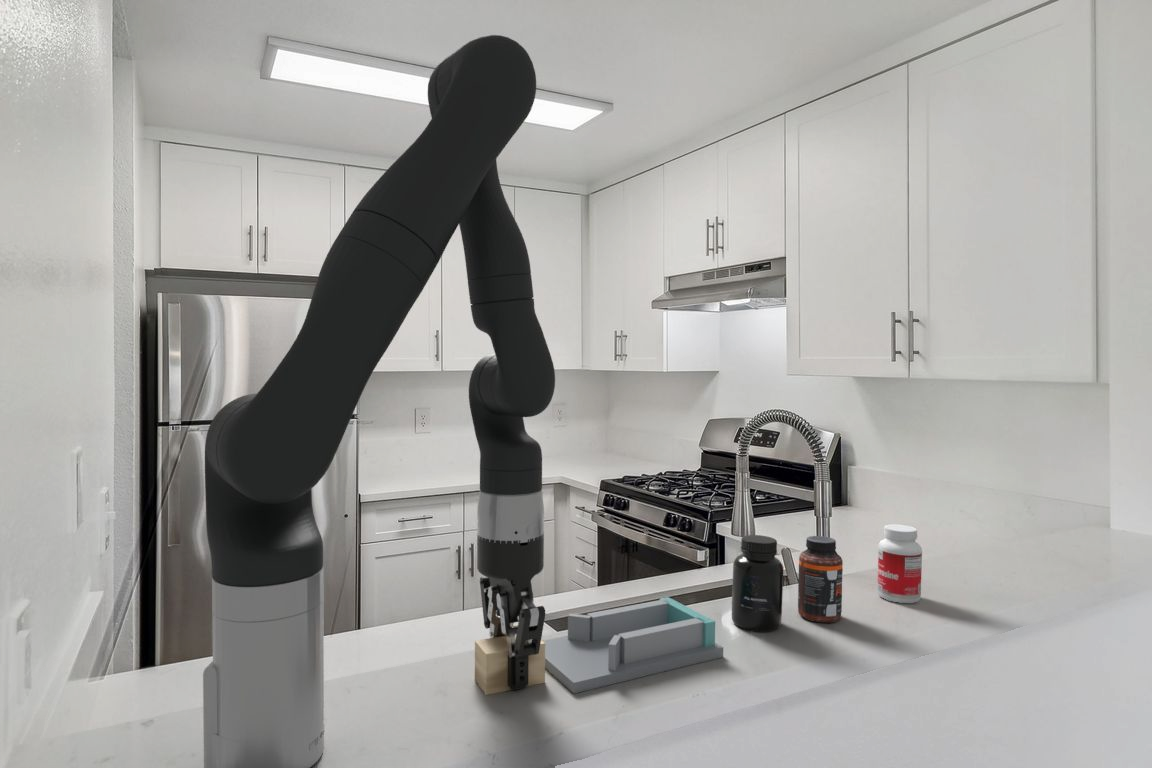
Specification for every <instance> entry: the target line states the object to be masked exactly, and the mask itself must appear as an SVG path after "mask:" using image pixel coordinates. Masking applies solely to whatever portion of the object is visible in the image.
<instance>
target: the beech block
mask: <svg viewBox="0 0 1152 768" xmlns="http://www.w3.org/2000/svg"><path fill="white" fill-rule="evenodd" d="M516 635H517V634H516ZM516 635H515V637H514V638H515V641H516ZM531 641H532V639H531ZM474 681H475V682H476V684H477V683H478V684H477V685H478V686H479V688H480V689H481V690H482V692H483V693H484V694H485V696H488V695H492V694H493V695H494V694H496V693H502V692H507V691H511V690H512V689H510V687H509V686H508V647H507V637H506V636H500V637H494V638H490V637H489V638H484V639H483V638H482V639H479V640H478V639H477V640H474ZM543 683H546V668H545V643H544V642H543V640H542V639H541V643H540V649H539V653H538V654H535V655H529V658H528V685H527V686H526V687H529V686H535V685H538V684H539V685H540V684H543ZM512 691H513V690H512Z"/></svg>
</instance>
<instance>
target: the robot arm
mask: <svg viewBox="0 0 1152 768" xmlns="http://www.w3.org/2000/svg"><path fill="white" fill-rule="evenodd" d="M536 94H537V75H536V69H535V66H534V63H533V61H532V59H531V57H530V54H529V53H528V52H527V50H526V49H525V48H524V47H523V46H522V45H521V44H520V43H519V42H518V41H516V40H514V39H512V38H510V37H508V36H505V35H504V36H503V35H498V34H491V35H485V36H480V37H479V36H478V37H476V38H475V39H472V40H469V41H468V42H466V43H465V44H463V45H462V46H461V47H459V48H458V49H456V50H455V51H453V52H452V53H451V54H449V55H448V56H446V58H444V59H443V60H442V61H441V62H440V63H439V64H437V66H435V68H434V69H433V71H432V73H431V74H430V76H429V79H428V83H427V103H428V107H429V113H430V116H431V119H430V121H429V122H428V124H426V127H425V128H424V130H423V131H422V132H421V133H420V134H419V136H418V137H417V138H416V139H415V140H414V142H413V143H412V144H411V145H410V146H408V148H407V149H406V150H405V151H404V152H403V153H401V155H400V156H399V157H398V158H397V159H396V160H395V161H394V162H393V163H392V164H391V165H390V166H389V167H388V168H387V169H386V170H385V172H384V173H383V174H382V175H381V176H380V177H379V179H377V180H376V181H375V183H374V184H373V185H372V186H371V187H370V188H369V190H368V191H367V192H366V193H365V195H364V196H363V197H362V198H361V199H360V201H359V202H358V204H356V205H357V206H356V207H355V208H354V209H353V211H352V212H351V214H350V216H349V217H348V219H347V221H346V223H345V224H344V225H343V227H342V228H341V230H340V231H339V233H338V235H337V236H336V238H335V239H334V241H333V243H332V245H331V247H330V248H329V251H328V252H327V254H326V256H325V259H324V260H323V263H322V265H321V268H320V272H319V273H318V277H317V280H316V283H315V285H314V288H313V293H312V296H311V299H310V303H309V306H308V310H307V313H306V316H305V319H304V322H303V324H302V326H301V329H300V331H299V332H298V334H297V336H296V338H295V340H294V341H293V343H292V344H291V346H290V348H289V350H288V351H287V353H286V354H285V355H284V357H283V358H282V359H281V361H280V362H279V364H278V365H277V367H276V368H275V370H274V371H273V372H272V374H271V375H270V377H269V378H268V379H267V381H265V383H264V384H263V386H262V387H261V388H260V389H259V391H257V393H249V394H244V395H242V396H240V397H237V398H234V399H233V400H231V401H230V402H227V404H225V405H224V406H223V407H222V408H221V409H220V410H218V412H216V414H215V415H214V418H213V419H212V420H211V422H210V424H209V427H208V429H207V432H206V437H205V445H204V486H205V487H204V490H205V491H204V492H205V520H206V521H205V525H206V536H207V543H208V547H209V552H210V558H211V559H210V560H211V587H212V588H211V589H212V590H211V591H212V592H211V596H212V597H211V598H212V599H211V601H212V602H211V603H212V604H211V605H212V607H211V608H212V609H211V610H212V661H211V662H210V663H209V664H208V665H207V666H206V667H205V668H204V670H203V672H202V689H203V690H202V699H203V700H202V701H203V703H202V705H203V706H202V707H203V709H202V710H203V711H202V712H203V718H202V719H203V722H202V723H203V725H202V726H203V768H311V767H312V766H314V765H315V764H316V763H317V762H318V761H319V760H320V758H321V757H322V756H323V752H324V749H325V721H324V720H325V715H324V711H325V710H324V709H325V690H324V689H325V685H324V684H325V683H324V682H325V674H324V672H325V669H324V665H325V664H324V663H325V662H324V660H325V659H324V656H325V654H324V653H325V652H324V651H325V650H324V649H325V648H324V647H325V646H324V644H325V643H324V637H325V636H324V631H325V630H324V543H323V537H322V535H321V532H320V529H319V528H318V524H317V522H316V517H315V513H314V508H313V499H312V498H313V497H312V496H313V495H312V489H313V488H314V487H316V485H317V484H318V483H319V481H321V480H322V478H324V476H325V474H326V473H327V471H328V470H329V468H330V467H331V466H330V465H332V462H333V460H334V457H335V455H336V454H337V451H338V449H339V447H340V444H341V443H342V439H343V438H344V435H345V433H346V431H347V428H348V425H349V423H350V421H351V419H352V416H353V415H354V412H355V409H356V407H357V405H358V403H359V402H360V399H361V396H362V394H363V392H364V390H365V387H366V385H367V384H368V381H369V379H370V378H371V376H372V374H373V372H374V370H375V368H376V367H377V365H378V364H379V362H380V361H381V359H382V357H383V356H384V354H385V353H386V351H387V349H388V348H389V347H390V345H391V343H392V342H393V341H394V338H395V336H396V335H397V333H398V331H399V330H400V329H401V326H402V325H403V324H404V321H405V320H406V318H407V316H408V314H409V313H410V312H411V311H410V310H411V309H412V308H413V306H414V304H415V303H416V302H417V299H419V297H420V296H421V293H422V292H423V291H424V288H425V286H426V285H427V283H428V281H429V279H430V278H431V277H432V275H433V272H434V271H435V269H436V267H437V266H438V264H439V262H440V260H441V258H442V256H443V254H444V252H445V251H446V249H447V247H448V244H449V242H450V240H451V239H452V237H453V236H454V234H455V232H456V230H457V228H458V226H459V230H460V235H461V242H462V246H463V247H462V248H463V251H464V260H465V267H466V268H465V269H466V277H467V278H466V279H467V286H468V295H469V303H470V310H471V311H470V312H471V316H472V321H473V324H474V326H475V327H476V329H477V330H479V331H480V332H483V333H484V334H487V335H488V337H489V338H490V341H491V344H492V347H493V351H494V352H493V353H489V354H487V355H485V356H483V357H481V359H480V360H479V361H477V363H476V364H475V366H474V367H473V369H472V372H471V373H470V378H469V381H468V382H469V383H468V402H469V409H470V414H471V415H470V416H471V421H472V424H473V429H474V434H475V438H476V441H477V445H478V449H479V456H480V459H479V494H478V495H479V496H478V503H477V516H476V518H477V519H476V520H477V521H476V523H477V524H476V525H477V526H476V527H477V528H476V531H477V534H476V536H477V537H476V545H477V546H476V547H477V548H476V549H477V550H476V558H477V559H476V563H477V564H476V567H477V571H478V572H479V574H481V575H482V576H481V577H480V578H479V585H480V596H481V598H480V599H481V605H482V614H483V615H482V616H483V626H484V628H485V629H489V631H488V632H489V633H488V634H489V635H488V636H489V638H494V637H500V636H506V637H507V647H508V686H509V687H510V689H512V691H515V690H520V689H524V688H526V687H528V686H527V685H528V658H529V655H535V654H538V653H539V649H540V643H541V640H542V637H543V630H544V624H545V619H546V618H545V617H546V608H545V606H544V605H540V606H537V605H536V604H535V603H534V592H533V586H532V580H533V578H535V576H536V575H539V574H540V573H542V571H543V570H544V568H545V567H544V566H545V565H544V563H545V561H544V560H545V556H544V555H545V552H544V551H545V550H544V549H545V507H544V499H543V498H544V497H543V454H542V447H541V444H540V443H539V442H538V441H537V440H536V439H534V438H533V437H531V436H530V435H529V434H528V432H527V430H526V427H525V421H524V418H531V417H536V416H537V415H540V414H541V413H543V412H544V411H545V410H546V409H547V408H548V407H549V405H550V403H551V401H552V399H553V396H554V393H555V387H556V373H555V367H554V362H553V359H552V356H551V352H550V349H549V347H548V344H547V341H546V338H545V337H546V336H545V335H544V332H543V328H542V326H541V324H540V322H539V319H538V317H537V313H536V309H535V299H534V289H533V280H532V271H531V262H530V257H529V253H528V248H527V245H526V244H527V243H526V242H525V238H524V236H523V233H522V231H521V229H520V227H519V225H518V223H517V220H516V219H515V217H514V215H513V213H512V211H511V208H510V207H509V203H508V202H507V199H506V198H505V195H504V191H503V188H502V185H501V181H500V177H499V171H498V165H497V159H498V157H499V156H500V155H501V153H502V152H503V150H504V149H505V148H506V146H507V144H508V143H509V142H510V141H511V140H512V138H513V137H514V135H515V134H516V133H517V131H519V129H520V127H521V126H522V124H523V123H524V122H525V121H526V119H527V118H528V116H529V115H530V113H531V111H532V108H533V105H534V103H535V99H536ZM514 623H517V625H514ZM516 634H517V635H516ZM515 635H516V641H515V638H514V637H515ZM531 639H532V641H531Z"/></svg>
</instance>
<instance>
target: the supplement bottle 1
mask: <svg viewBox="0 0 1152 768" xmlns="http://www.w3.org/2000/svg"><path fill="white" fill-rule="evenodd" d="M740 545H741V546H740V552H741V554H740V555H738V556H736V557H735V558H734V560H733V565H732V566H733V567H732V589H731V590H732V591H731V593H732V594H731V620H732V623H734V625H736V626H737V627H738V628H740V629H743V630H746V631H751V632H757V633H758V632H759V633H768V632H769V633H770V632H773V631H776V630H778V629H780V627H781V625H782V619H783V618H782V617H783V593H784V592H783V591H784V590H783V589H784V565H783V563H782V561H781V560H780V559H778V558H777V557H776V556H777V554H778V549H777V547H778V541H777V539H776V538H774V537H771V536H766V535H760V534H749V535H743V536H742V537H741V543H740Z"/></svg>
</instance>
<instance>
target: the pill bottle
mask: <svg viewBox="0 0 1152 768" xmlns="http://www.w3.org/2000/svg"><path fill="white" fill-rule="evenodd" d="M883 534H884V537H885V538H884V539H881V540H880V542H878V555H877V557H878V558H877V584H876V585H877V586H876V587H877V588H876V589H877V595H878V596H879V597H880V598H882V599H883V598H884V600H885V599H886V601H888V600H889V601H888V602H891V601H893V602H892V603H895V602H899V603H898V604H903V603H911V604H916V603H918V602H919V601H920V600H921V597H922V567H923V566H922V565H923V564H922V563H923V562H922V561H923V548H922V546H921V544H919V543H918V542H916V540H917V539H918V529H917V528H916V527H913V526H911V525H906V524H905V525H904V524H899V523H894V524H893V523H892V524H885V525H884V527H883ZM915 602H916V603H915Z"/></svg>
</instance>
